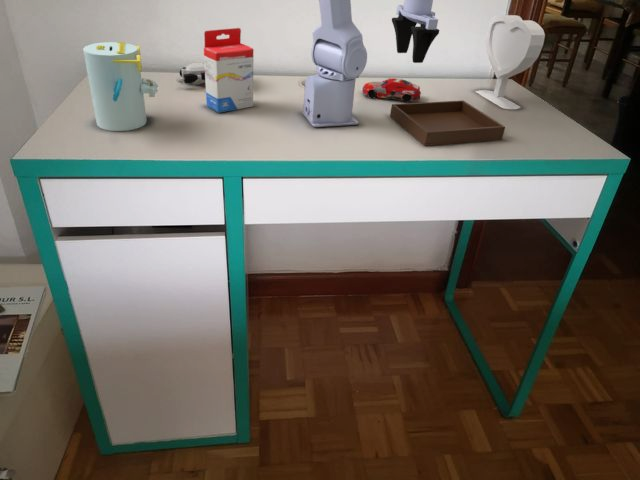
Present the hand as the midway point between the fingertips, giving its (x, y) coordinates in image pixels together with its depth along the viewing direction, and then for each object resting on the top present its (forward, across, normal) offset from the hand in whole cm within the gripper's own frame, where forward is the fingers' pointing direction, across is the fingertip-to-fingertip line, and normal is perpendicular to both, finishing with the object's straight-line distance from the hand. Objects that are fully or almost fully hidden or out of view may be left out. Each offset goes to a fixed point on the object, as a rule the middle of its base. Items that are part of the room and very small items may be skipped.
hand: (409, 57), depth 112 cm
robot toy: (+10, +16, +40) cm, 44 cm away
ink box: (+10, +1, +39) cm, 40 cm away
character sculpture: (+10, -4, +59) cm, 60 cm away
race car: (+10, +2, +2) cm, 10 cm away
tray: (+10, -17, -1) cm, 19 cm away
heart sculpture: (+10, -2, -24) cm, 26 cm away
